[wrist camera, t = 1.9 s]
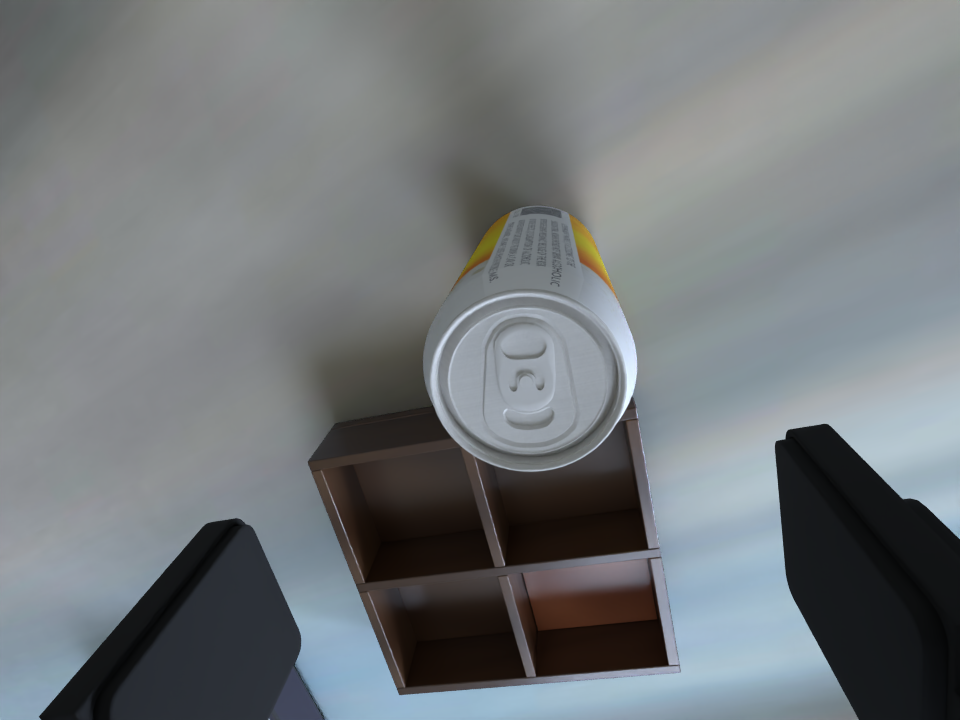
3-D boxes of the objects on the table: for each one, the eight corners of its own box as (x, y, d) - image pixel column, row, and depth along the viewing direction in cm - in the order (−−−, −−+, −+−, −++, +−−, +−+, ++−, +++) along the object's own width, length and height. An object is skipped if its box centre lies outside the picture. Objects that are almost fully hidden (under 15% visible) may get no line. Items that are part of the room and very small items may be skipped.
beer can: (483, 326, 31) (430, 486, 17) (471, 209, 29) (399, 284, 15) (599, 319, 30) (642, 482, 16) (596, 198, 28) (643, 266, 14)
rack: (334, 423, 34) (306, 461, 30) (625, 371, 31) (636, 407, 27) (414, 639, 40) (398, 695, 36) (666, 613, 37) (680, 672, 33)
